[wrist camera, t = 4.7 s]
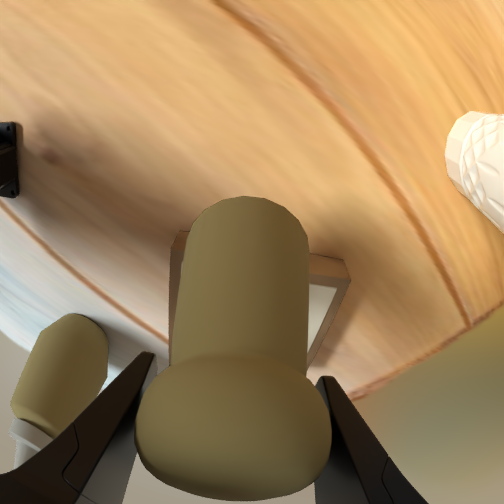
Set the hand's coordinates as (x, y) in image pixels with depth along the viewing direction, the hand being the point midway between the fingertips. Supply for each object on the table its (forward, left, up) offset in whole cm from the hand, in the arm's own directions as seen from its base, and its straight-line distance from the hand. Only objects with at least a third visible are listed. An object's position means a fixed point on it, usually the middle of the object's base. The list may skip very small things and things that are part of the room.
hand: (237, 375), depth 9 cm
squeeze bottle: (-15, -17, -13) cm, 26 cm away
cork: (0, 0, -7) cm, 7 cm away
